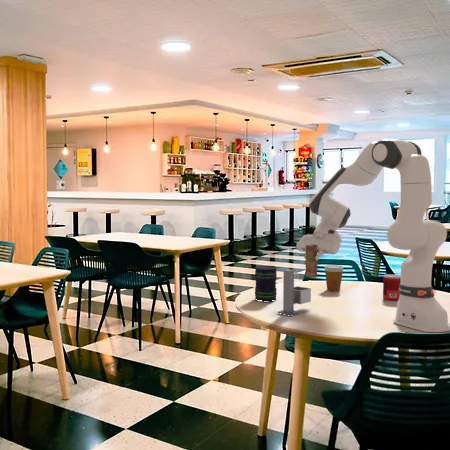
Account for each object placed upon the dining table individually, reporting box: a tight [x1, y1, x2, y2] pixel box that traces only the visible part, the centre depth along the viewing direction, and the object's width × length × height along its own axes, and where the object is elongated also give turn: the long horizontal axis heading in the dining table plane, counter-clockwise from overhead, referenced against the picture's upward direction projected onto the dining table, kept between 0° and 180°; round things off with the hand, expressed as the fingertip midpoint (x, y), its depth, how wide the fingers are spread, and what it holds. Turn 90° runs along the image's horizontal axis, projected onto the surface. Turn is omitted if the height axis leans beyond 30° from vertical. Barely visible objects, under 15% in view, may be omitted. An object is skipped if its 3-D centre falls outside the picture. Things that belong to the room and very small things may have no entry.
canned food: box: [382, 273, 401, 302], centre depth 238 cm, size 8×8×11 cm
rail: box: [305, 244, 318, 278], centre depth 229 cm, size 4×4×14 cm
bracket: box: [277, 268, 312, 317], centre depth 213 cm, size 14×7×18 cm, turn 136°
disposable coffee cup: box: [323, 264, 344, 292], centre depth 258 cm, size 10×10×12 cm
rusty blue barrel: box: [254, 265, 277, 301], centre depth 236 cm, size 10×10×15 cm
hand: (310, 258), depth 228 cm, fingers closed on rail, 4 cm apart
